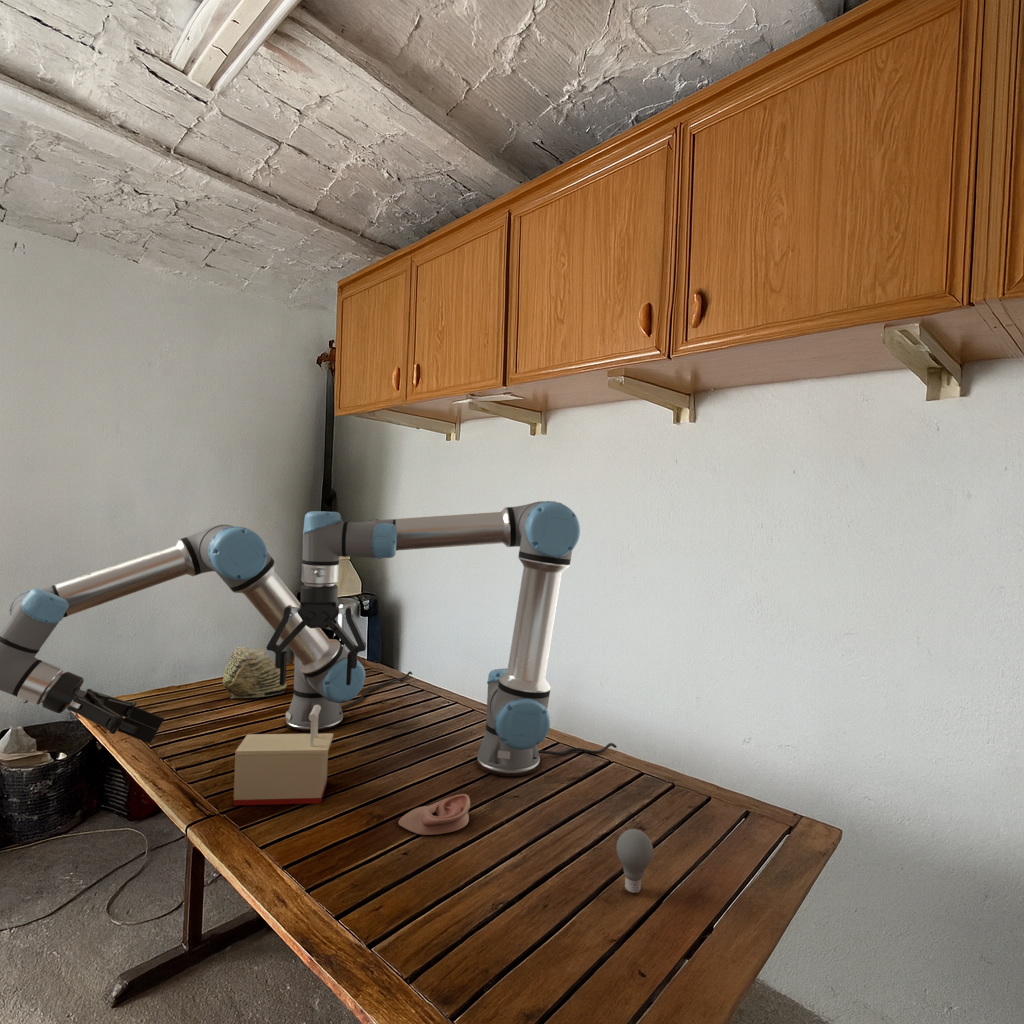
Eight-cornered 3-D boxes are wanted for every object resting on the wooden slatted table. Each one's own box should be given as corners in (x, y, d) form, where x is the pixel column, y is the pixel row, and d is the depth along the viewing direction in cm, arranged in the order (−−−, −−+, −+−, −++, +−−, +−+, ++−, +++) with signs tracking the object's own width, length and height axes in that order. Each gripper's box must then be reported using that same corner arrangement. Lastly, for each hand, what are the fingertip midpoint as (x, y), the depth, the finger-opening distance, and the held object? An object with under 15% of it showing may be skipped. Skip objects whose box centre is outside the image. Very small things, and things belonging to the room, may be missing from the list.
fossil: (218, 695, 195) (220, 647, 195) (278, 685, 208) (279, 640, 207) (228, 703, 189) (230, 653, 188) (289, 692, 201) (290, 645, 201)
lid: (333, 737, 140) (334, 702, 140) (327, 754, 131) (328, 716, 131) (247, 738, 137) (248, 702, 137) (235, 755, 128) (236, 716, 128)
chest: (326, 783, 140) (328, 737, 140) (320, 803, 131) (322, 754, 131) (245, 784, 138) (247, 738, 137) (233, 805, 128) (235, 755, 128)
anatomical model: (392, 810, 121) (414, 784, 132) (391, 830, 121) (413, 803, 132) (459, 820, 118) (475, 792, 130) (458, 841, 118) (474, 812, 130)
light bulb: (610, 879, 108) (613, 822, 108) (644, 879, 109) (647, 822, 109) (619, 902, 102) (622, 840, 102) (655, 901, 103) (658, 840, 103)
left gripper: (56, 697, 136) (153, 736, 142) (22, 716, 113) (139, 761, 120) (78, 664, 138) (172, 704, 145) (48, 677, 116) (162, 723, 122)
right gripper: (253, 585, 129) (250, 688, 129) (378, 587, 133) (374, 688, 133) (262, 580, 136) (259, 678, 137) (380, 583, 140) (376, 678, 140)
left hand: (157, 730), depth 132 cm, fingers open, 13 cm apart
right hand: (316, 683), depth 135 cm, fingers open, 13 cm apart
